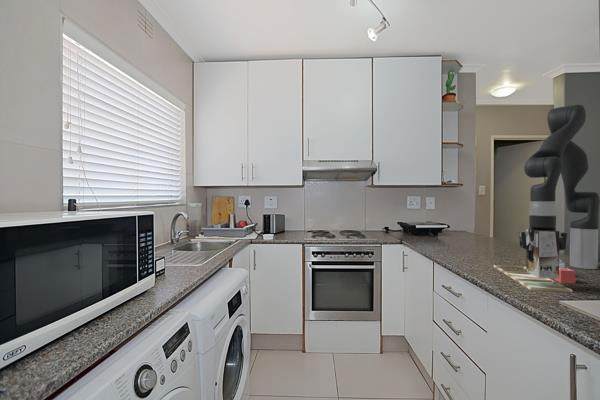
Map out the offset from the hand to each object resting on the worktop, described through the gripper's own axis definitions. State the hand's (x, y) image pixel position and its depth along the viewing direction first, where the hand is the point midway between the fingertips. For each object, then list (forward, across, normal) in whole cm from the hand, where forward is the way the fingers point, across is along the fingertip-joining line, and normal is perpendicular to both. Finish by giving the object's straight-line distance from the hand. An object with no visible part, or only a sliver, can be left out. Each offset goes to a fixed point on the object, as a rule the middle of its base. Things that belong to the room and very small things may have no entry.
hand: (542, 261), depth 112 cm
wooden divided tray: (+9, 0, -12) cm, 14 cm away
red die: (+9, -11, -8) cm, 16 cm away
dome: (+6, -12, -19) cm, 24 cm away
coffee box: (+5, 0, 0) cm, 5 cm away
